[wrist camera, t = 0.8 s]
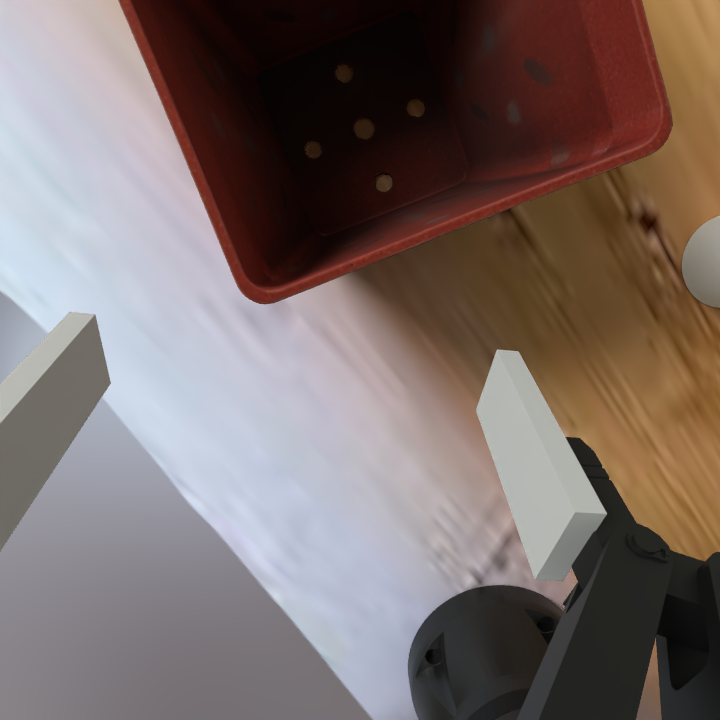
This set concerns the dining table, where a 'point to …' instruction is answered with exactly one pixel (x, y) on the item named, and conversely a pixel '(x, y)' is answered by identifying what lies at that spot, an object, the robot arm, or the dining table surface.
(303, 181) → the plant pot
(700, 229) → the cylindrical container
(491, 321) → the dining table surface
